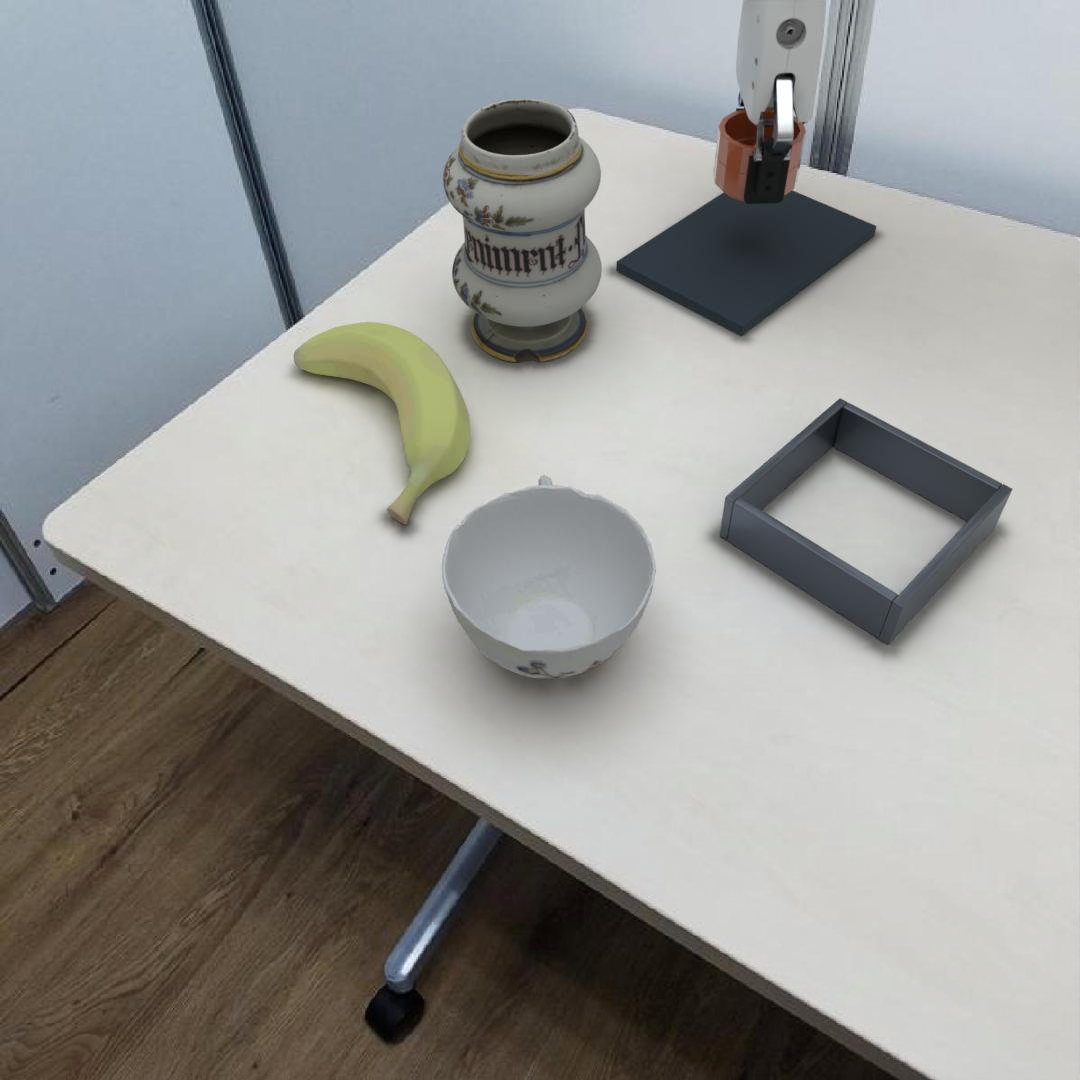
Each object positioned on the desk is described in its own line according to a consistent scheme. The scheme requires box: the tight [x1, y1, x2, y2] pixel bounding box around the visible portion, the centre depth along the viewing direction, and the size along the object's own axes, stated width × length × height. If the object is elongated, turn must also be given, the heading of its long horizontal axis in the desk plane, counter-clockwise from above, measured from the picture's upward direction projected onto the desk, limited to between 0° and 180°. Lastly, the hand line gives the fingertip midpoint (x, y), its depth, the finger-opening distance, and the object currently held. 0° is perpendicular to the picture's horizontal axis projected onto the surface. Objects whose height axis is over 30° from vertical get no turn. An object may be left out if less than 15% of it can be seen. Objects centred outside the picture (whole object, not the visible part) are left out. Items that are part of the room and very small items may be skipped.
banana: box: [293, 321, 471, 525], centre depth 77 cm, size 14×6×20 cm
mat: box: [615, 189, 877, 337], centre depth 92 cm, size 20×14×1 cm
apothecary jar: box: [442, 97, 603, 363], centre depth 79 cm, size 12×12×18 cm
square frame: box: [719, 397, 1013, 646], centre depth 68 cm, size 13×13×4 cm
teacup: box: [441, 474, 657, 680], centre depth 63 cm, size 15×12×8 cm
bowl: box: [712, 109, 807, 202], centre depth 85 cm, size 7×7×5 cm
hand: (756, 175), depth 86 cm, fingers closed on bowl, 7 cm apart
